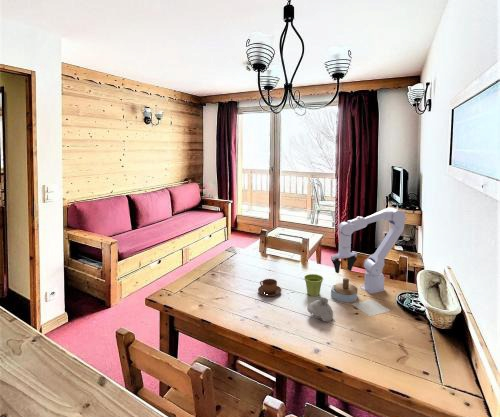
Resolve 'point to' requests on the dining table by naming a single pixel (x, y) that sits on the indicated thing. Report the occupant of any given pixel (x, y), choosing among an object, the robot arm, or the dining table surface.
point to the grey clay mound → (321, 309)
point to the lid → (345, 288)
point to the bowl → (343, 296)
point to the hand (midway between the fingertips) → (343, 271)
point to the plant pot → (313, 284)
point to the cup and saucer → (269, 287)
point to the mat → (371, 307)
